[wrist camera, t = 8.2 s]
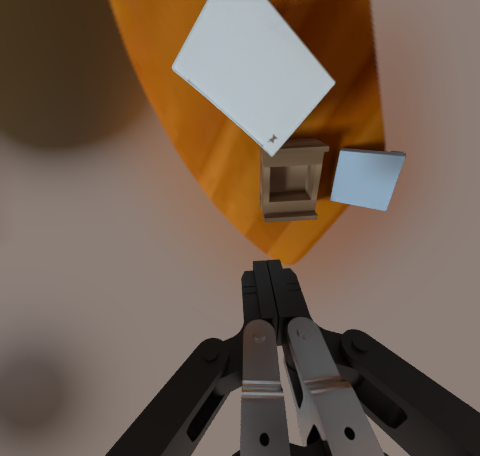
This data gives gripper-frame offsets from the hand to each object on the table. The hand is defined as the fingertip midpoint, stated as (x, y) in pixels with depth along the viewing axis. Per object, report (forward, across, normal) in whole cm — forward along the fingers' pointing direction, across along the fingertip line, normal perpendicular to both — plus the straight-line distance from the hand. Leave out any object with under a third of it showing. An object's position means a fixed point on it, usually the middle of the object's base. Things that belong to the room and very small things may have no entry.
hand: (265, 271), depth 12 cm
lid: (+13, -13, +1) cm, 19 cm away
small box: (+17, 0, -9) cm, 19 cm away
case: (+16, -5, 0) cm, 17 cm away
